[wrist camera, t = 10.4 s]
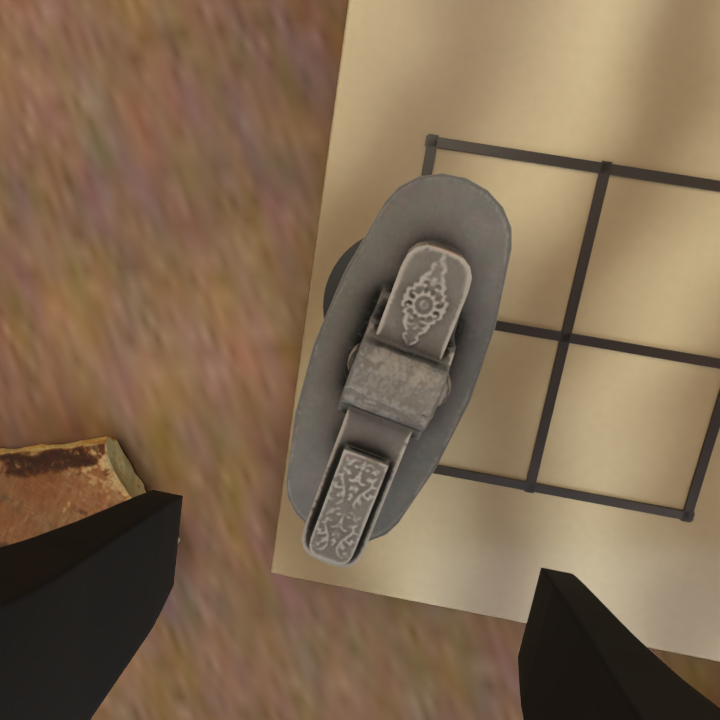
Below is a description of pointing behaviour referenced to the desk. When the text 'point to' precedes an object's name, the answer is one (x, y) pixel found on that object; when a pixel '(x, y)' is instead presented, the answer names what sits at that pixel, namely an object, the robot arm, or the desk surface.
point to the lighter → (396, 362)
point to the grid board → (551, 300)
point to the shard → (61, 485)
